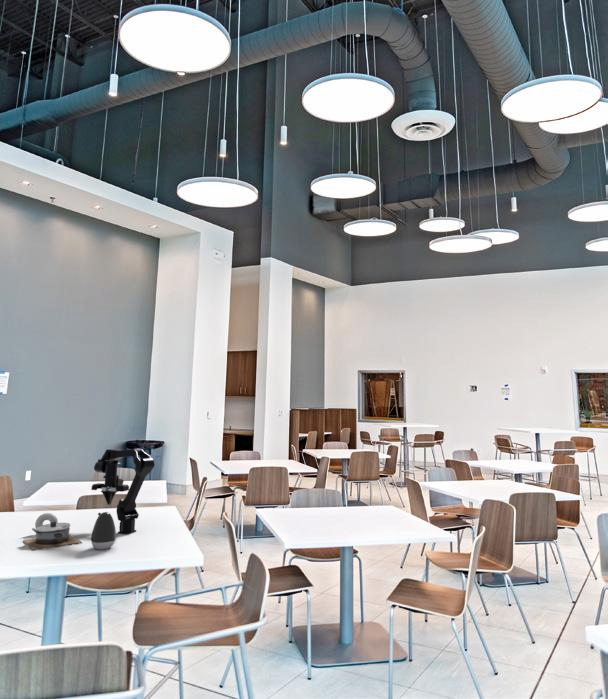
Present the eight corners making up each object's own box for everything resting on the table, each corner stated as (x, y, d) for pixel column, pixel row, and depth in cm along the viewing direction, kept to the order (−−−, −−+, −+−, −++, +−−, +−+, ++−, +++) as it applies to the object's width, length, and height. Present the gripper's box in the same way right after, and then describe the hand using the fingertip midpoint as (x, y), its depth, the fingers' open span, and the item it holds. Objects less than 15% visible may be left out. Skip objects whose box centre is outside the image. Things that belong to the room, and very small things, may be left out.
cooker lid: (65, 523, 239) (65, 516, 240) (74, 528, 229) (74, 521, 229) (29, 528, 230) (30, 522, 230) (37, 534, 219) (37, 527, 219)
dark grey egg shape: (107, 544, 227) (109, 509, 229) (119, 548, 220) (122, 512, 223) (85, 548, 219) (88, 512, 221) (97, 552, 213) (100, 515, 215)
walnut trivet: (69, 535, 243) (69, 534, 243) (81, 543, 227) (82, 542, 228) (22, 541, 230) (22, 540, 230) (32, 550, 215) (33, 548, 215)
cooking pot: (61, 534, 242) (62, 523, 242) (75, 543, 225) (76, 531, 226) (30, 538, 233) (31, 527, 234) (41, 548, 216) (42, 535, 217)
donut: (33, 535, 242) (35, 514, 243) (34, 534, 245) (36, 512, 246) (56, 534, 245) (58, 512, 246) (57, 532, 248) (59, 511, 250)
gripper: (135, 472, 267) (134, 503, 265) (105, 471, 272) (103, 501, 270) (123, 474, 256) (121, 506, 254) (91, 473, 261) (89, 504, 259)
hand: (109, 504), depth 260 cm, fingers closed
